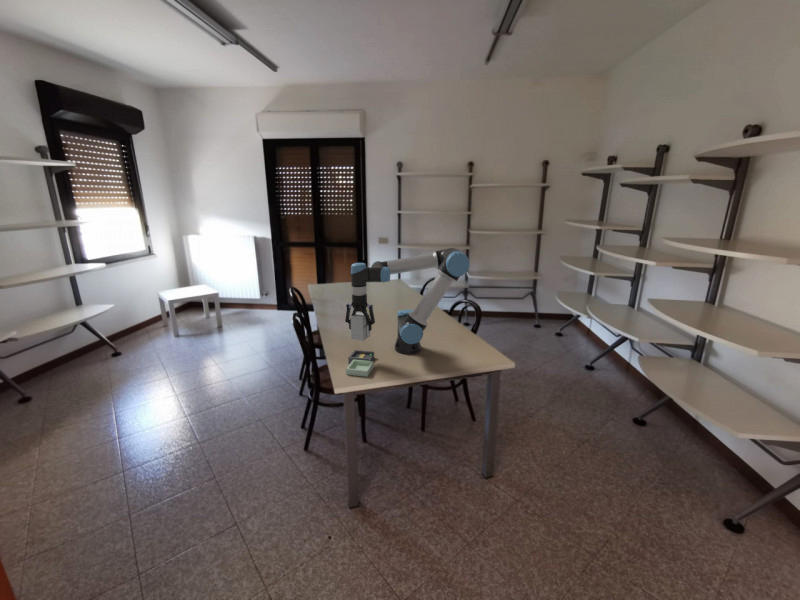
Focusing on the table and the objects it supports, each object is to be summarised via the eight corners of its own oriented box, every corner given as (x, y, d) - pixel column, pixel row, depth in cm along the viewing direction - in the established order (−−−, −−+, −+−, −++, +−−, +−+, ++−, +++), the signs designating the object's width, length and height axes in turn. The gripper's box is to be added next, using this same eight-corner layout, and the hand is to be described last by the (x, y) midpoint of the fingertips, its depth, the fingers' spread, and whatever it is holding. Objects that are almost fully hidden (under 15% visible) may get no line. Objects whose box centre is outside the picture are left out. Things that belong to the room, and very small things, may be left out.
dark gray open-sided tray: (374, 357, 199) (374, 351, 198) (368, 365, 189) (368, 359, 188) (354, 355, 201) (354, 349, 200) (348, 363, 192) (348, 357, 191)
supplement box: (363, 341, 187) (362, 318, 183) (350, 339, 190) (349, 316, 186) (370, 336, 193) (369, 313, 190) (358, 334, 196) (357, 312, 193)
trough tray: (373, 366, 188) (373, 361, 187) (367, 376, 178) (367, 371, 177) (353, 364, 190) (353, 359, 190) (346, 374, 180) (345, 369, 179)
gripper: (381, 293, 186) (381, 334, 192) (342, 290, 190) (344, 331, 197) (377, 296, 179) (377, 340, 185) (337, 294, 183) (339, 336, 190)
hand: (360, 335), depth 191 cm, fingers closed on supplement box, 8 cm apart
